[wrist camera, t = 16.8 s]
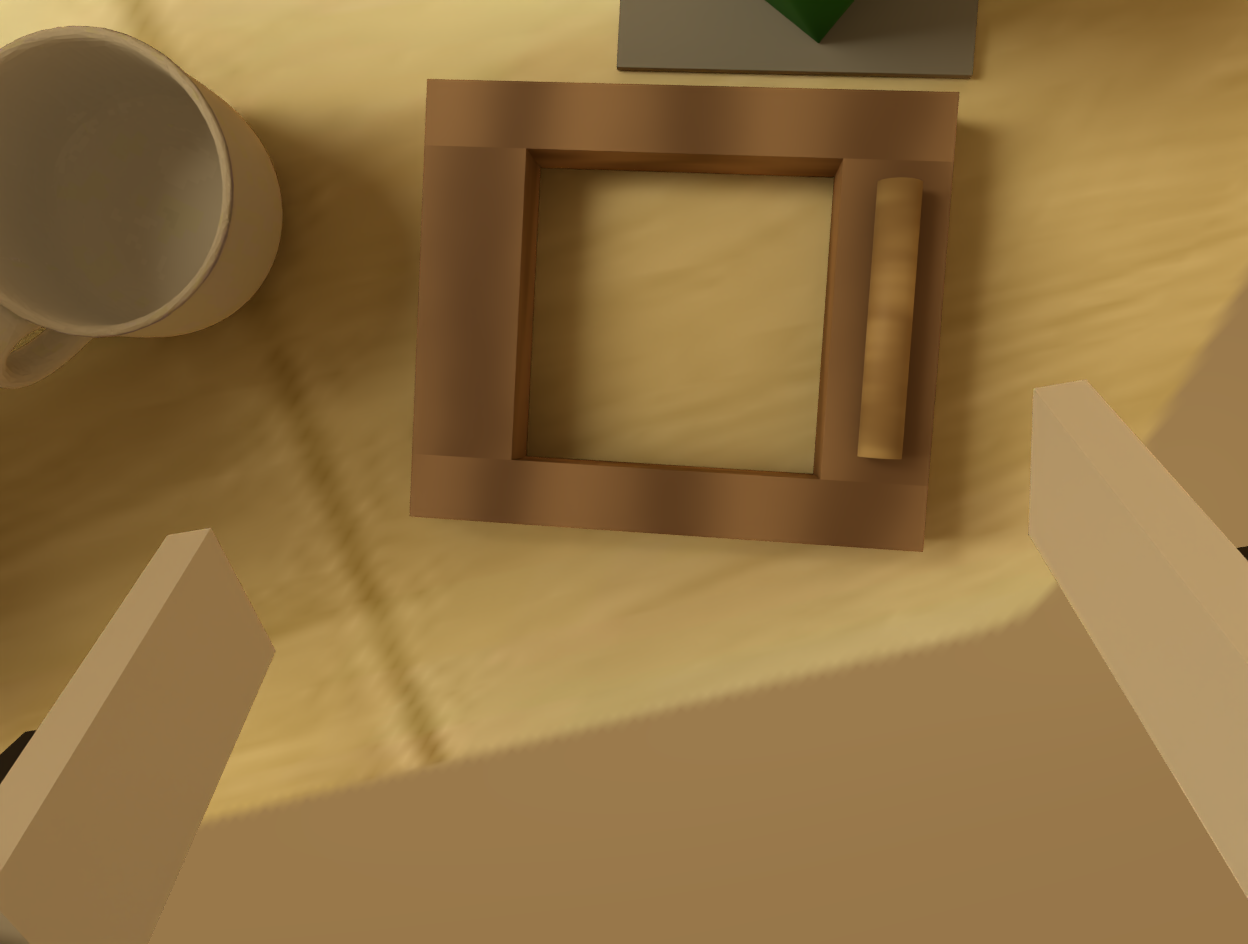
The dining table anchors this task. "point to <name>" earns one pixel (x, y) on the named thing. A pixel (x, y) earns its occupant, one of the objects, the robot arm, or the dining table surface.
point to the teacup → (121, 199)
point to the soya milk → (812, 14)
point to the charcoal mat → (799, 39)
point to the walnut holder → (694, 143)
